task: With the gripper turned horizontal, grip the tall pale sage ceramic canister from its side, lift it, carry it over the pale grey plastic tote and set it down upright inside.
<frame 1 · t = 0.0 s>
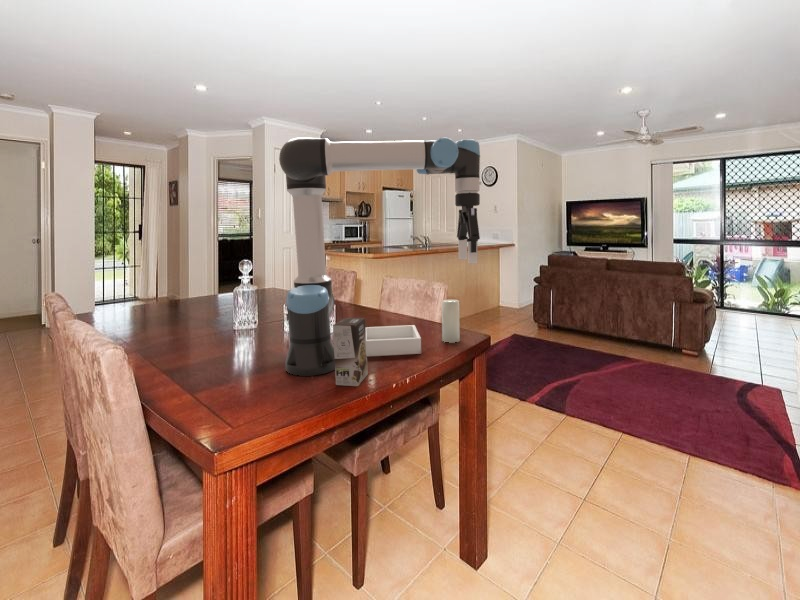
hand: (467, 261, 138), 28 cm above the table, tool pointing down, fingers open, 13 cm apart
coffee box: (352, 380, 115), on the table
tote: (391, 347, 145), on the table
canister: (450, 340, 150), on the table
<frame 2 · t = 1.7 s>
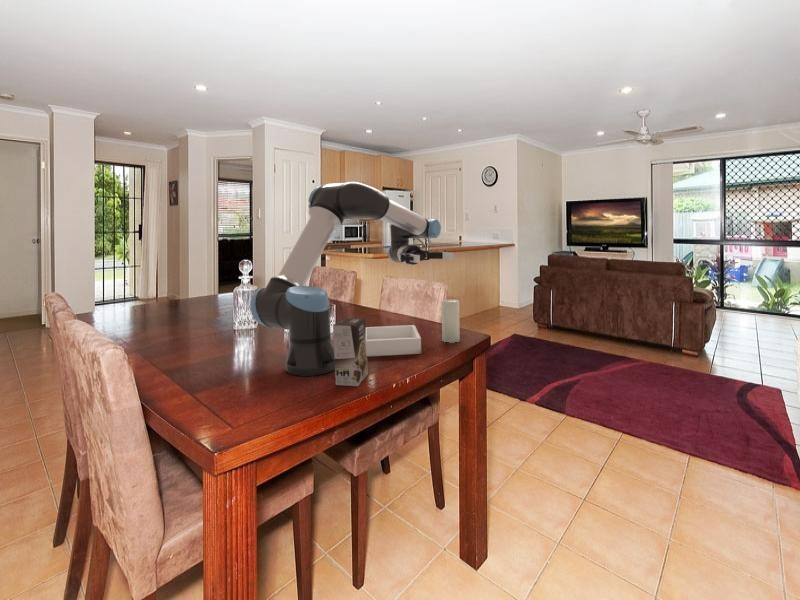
hand: (436, 258, 154), 28 cm above the table, tool horizontal, fingers open, 13 cm apart
nothing on the table moved.
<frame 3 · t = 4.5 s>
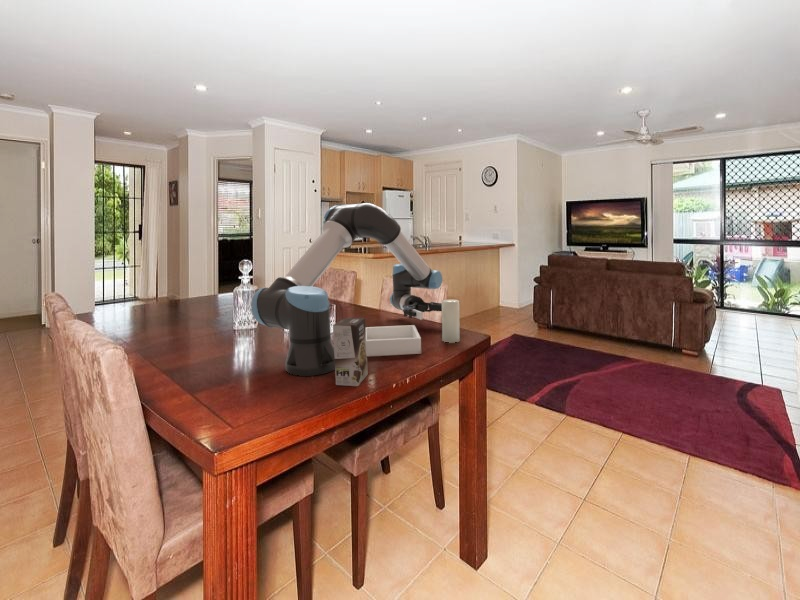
hand: (438, 313, 157), 8 cm above the table, tool horizontal, fingers open, 13 cm apart
nothing on the table moved.
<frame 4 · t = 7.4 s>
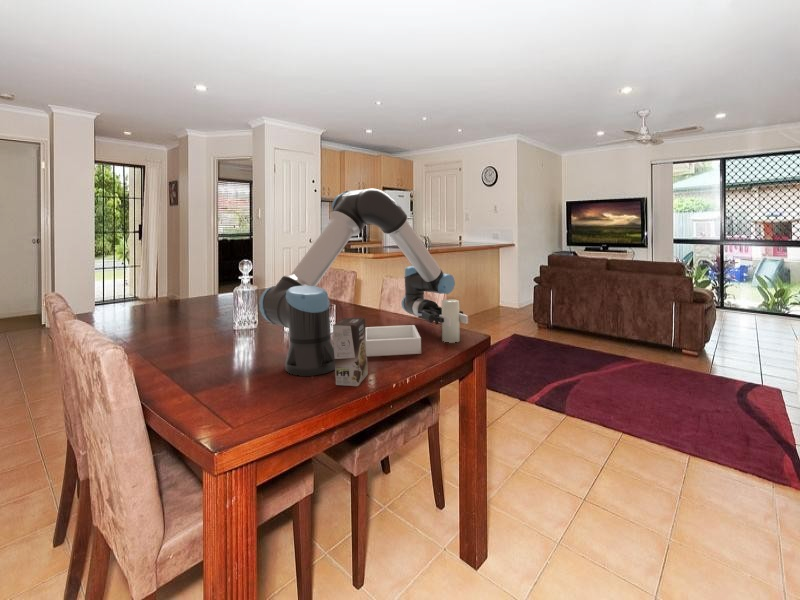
hand: (458, 321, 144), 8 cm above the table, tool horizontal, fingers closed on canister, 6 cm apart
canister: (450, 340, 150), on the table, touching gripper
everything else where it was.
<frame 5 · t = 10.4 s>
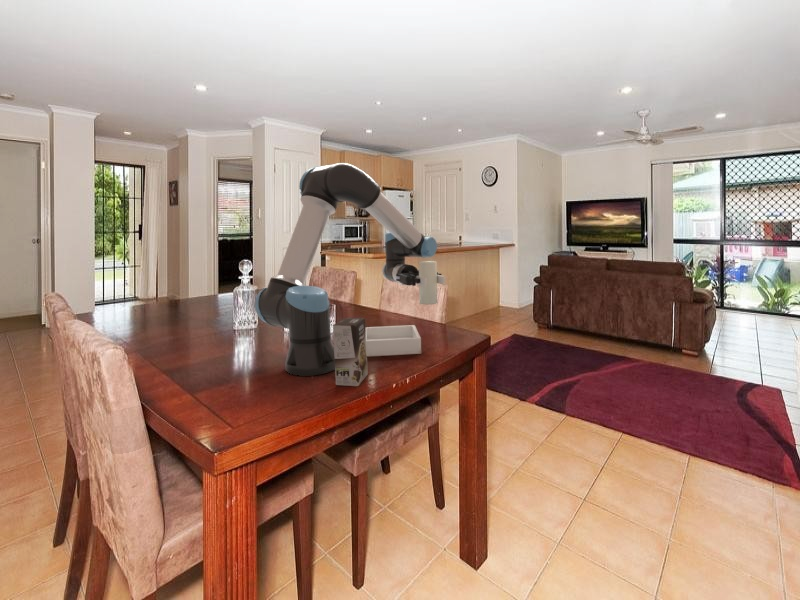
hand: (435, 281, 140), 22 cm above the table, tool horizontal, fingers closed on canister, 6 cm apart
canister: (428, 303, 146), point 14 cm above the table, touching gripper
everything else where it was.
when the fingers open (10 cm above the table, at t = 13.7 s): canister drops 1 cm, resting on tote.
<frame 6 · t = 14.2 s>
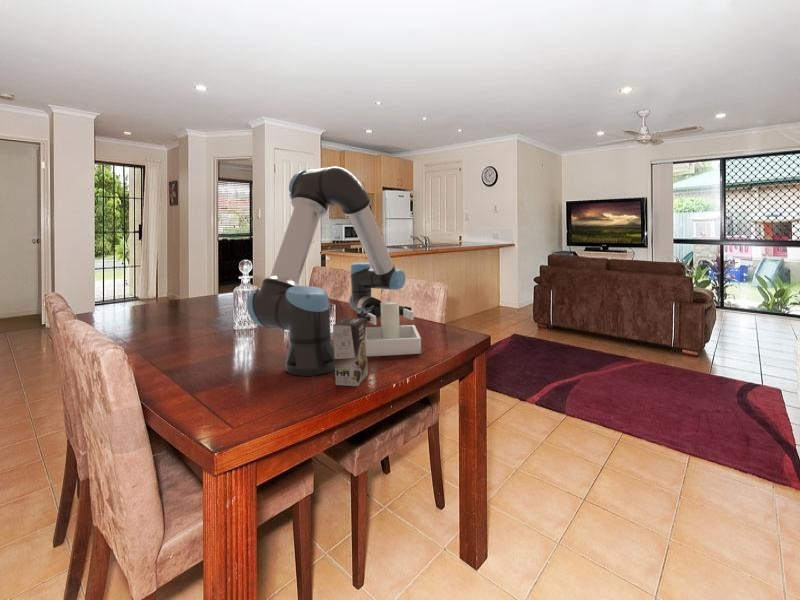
hand: (394, 318, 140), 10 cm above the table, tool horizontal, fingers open, 12 cm apart
canister: (391, 343, 145), point 1 cm above the table, touching tote
everything else where it was.
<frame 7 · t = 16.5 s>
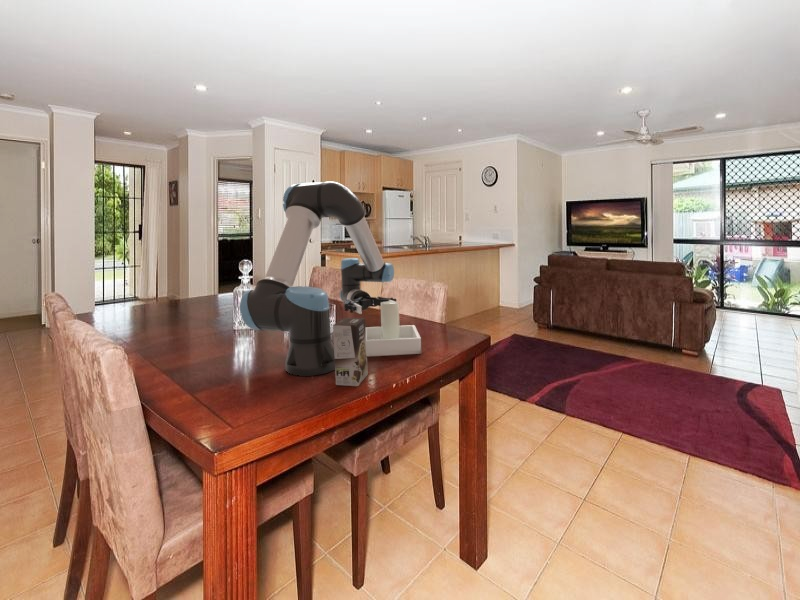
hand: (379, 308, 151), 12 cm above the table, tool horizontal, fingers open, 13 cm apart
nothing on the table moved.
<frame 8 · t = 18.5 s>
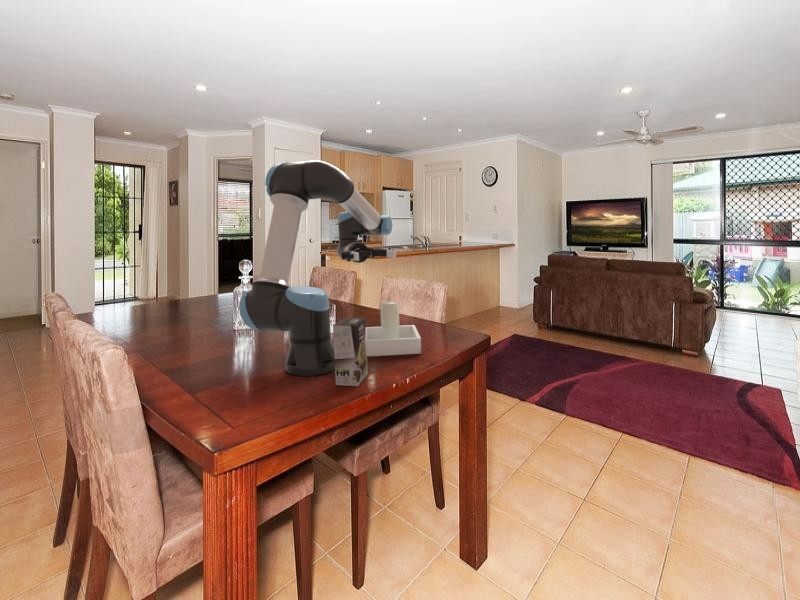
hand: (376, 255, 148), 30 cm above the table, tool horizontal, fingers open, 13 cm apart
nothing on the table moved.
at the end: canister inside the target area on the tote (0.1 cm from its centre), point 1.0 cm above the tote's base; canister tilted 0°; the gripper is holding nothing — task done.
